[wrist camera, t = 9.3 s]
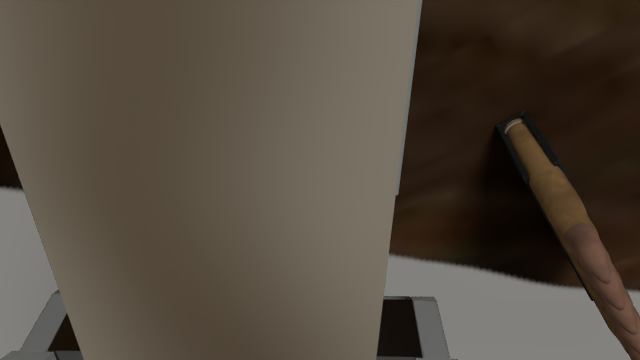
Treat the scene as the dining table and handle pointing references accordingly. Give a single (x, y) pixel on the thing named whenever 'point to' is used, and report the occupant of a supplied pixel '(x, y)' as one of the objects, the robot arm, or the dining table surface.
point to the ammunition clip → (571, 227)
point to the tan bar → (211, 169)
